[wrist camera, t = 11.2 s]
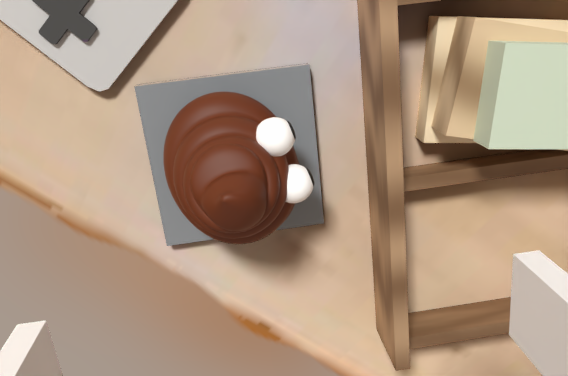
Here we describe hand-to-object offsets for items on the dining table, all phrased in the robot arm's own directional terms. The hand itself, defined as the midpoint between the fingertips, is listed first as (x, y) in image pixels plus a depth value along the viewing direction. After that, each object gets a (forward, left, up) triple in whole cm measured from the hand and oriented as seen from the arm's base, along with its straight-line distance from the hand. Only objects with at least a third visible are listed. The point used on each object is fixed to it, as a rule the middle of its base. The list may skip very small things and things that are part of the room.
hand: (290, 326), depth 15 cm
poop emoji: (+1, -1, -21) cm, 21 cm away
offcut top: (-1, +18, -18) cm, 26 cm away
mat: (+1, -1, -22) cm, 22 cm away
